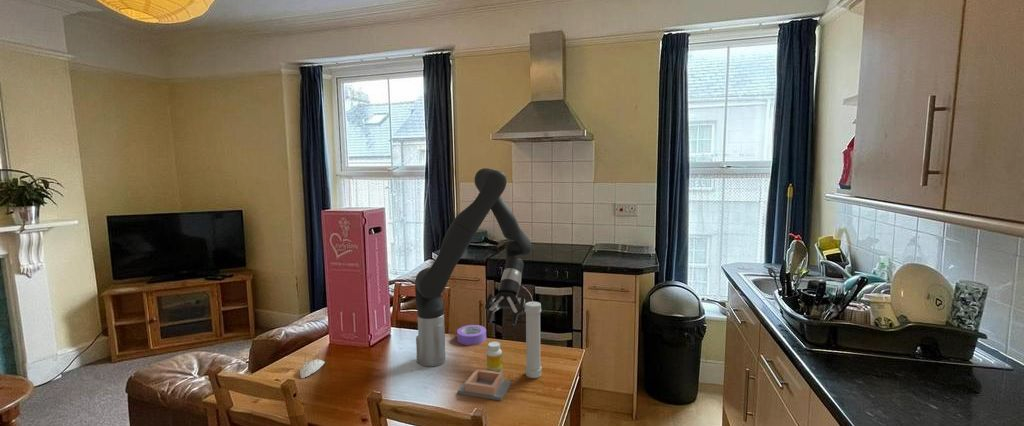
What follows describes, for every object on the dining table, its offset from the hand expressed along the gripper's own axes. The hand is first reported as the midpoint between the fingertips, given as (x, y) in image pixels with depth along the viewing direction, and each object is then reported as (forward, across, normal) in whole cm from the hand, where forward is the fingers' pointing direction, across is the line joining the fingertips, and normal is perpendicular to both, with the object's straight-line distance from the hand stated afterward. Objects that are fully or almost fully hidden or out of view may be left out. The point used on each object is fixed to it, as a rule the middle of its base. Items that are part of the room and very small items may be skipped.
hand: (501, 323), depth 145 cm
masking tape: (0, -18, +21) cm, 27 cm away
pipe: (+15, +13, +5) cm, 20 cm away
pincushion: (+27, -61, -7) cm, 67 cm away
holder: (+24, +1, -4) cm, 24 cm away
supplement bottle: (+16, 0, +4) cm, 16 cm away
